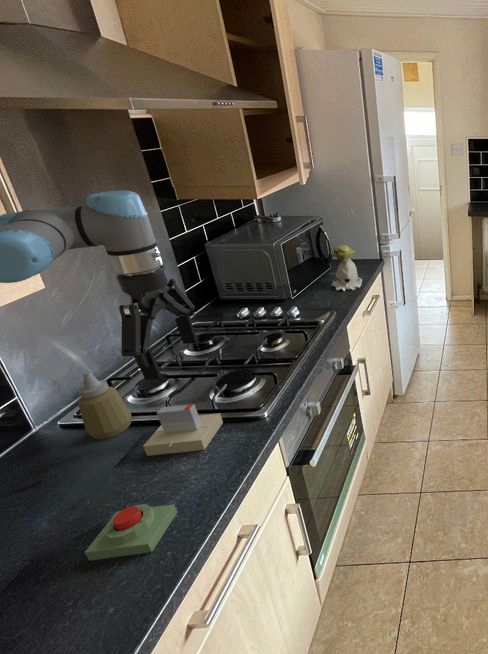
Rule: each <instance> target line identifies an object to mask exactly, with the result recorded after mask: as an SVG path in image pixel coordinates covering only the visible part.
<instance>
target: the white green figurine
mask: <svg viewBox="0 0 488 654" xmlns="http://www.w3.org/2000/svg"><path fill="white" fill-rule="evenodd" d="M330 255H331V256H332V257H333V258H336V259H337V260H338V261H339V262H340V263H339V264H338V268H337V269H336V272H335V278H336V279H337V280H334V281H333V282H332V283H331V286H332V287H335V291H340V290H342V291H343V292H345V291H346V290H348V291H350V290H351V291H354V290H357V288H361V286H362V284H363V279H362V278H361V277H359V275H358V270H357V266H356V264H355V263H354V262H353V261H352V259H351V258H353V257H354V256H355V255H356V251H355V250H354V249H352V248H351V247H349V246H348V245H346V244H341V245H338V246H334V249H333V252H331V253H330ZM347 280H349V281H348V282H347Z"/></svg>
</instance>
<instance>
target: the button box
mask: <svg viewBox="0 0 488 654" xmlns="http://www.w3.org/2000/svg"><path fill="white" fill-rule="evenodd" d="M134 506H136V507H138V508H139V510H140V512H141V514H142V517H141V519H140V521H139V522H138V523H136V524H135V525H134V526H133V527H131V528H128V529H126V530H124V531H118V530H117V529H116V527H115V525H114V523H113V519H114V517H115V516H116V515H117V514H118V513H119V512H120V511H121V510H119V511H116V512H115V513H114V514H113V516H112V517H111V518H110V519H109V520H108V522H107V523H106V525H105V526H104V527H103V528H102V530H101V531H100V532H99V533H98V534H97V536H96V537H95V538H94V540H92V541H91V544H90V545H89V546H88V547H87V548H86V550H85V551H84V555H85V556H86V558H87V560H88V561H90V562H91V561H98V560H104V559H111V558H118V557H125V556H133V555H140V554H141V555H142V554H149V553H152V552H153V551H154V549H155V548H156V546H157V545H158V544H159V541H160V540H161V539H162V537H163V536H164V534H165V532H166V531H167V529H168V528H169V527H170V524H171V523H172V521H173V520H174V518H175V517H176V515H177V514H178V510H177V507H176V505H175V504H174V503H173V504H165V505H158V506H157V505H156V506H151V505H148V504H146V503H141V504H135V505H134Z"/></svg>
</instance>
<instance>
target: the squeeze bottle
mask: <svg viewBox="0 0 488 654" xmlns="http://www.w3.org/2000/svg"><path fill="white" fill-rule="evenodd" d="M82 376H83V377H82V378H83V385H82V386H81V387H80V389H79V390H78V393H79V395H80V398H79V399H78V400H77V405H78V409H79V412H80V416H81V419H82V422H83V426H84V429H85V431H86V434H87V435H89V436H90V437H91V438H92V439H94V440H105V439H110V438H113V437H115V436H117V435H119V434H121V433H123V432H124V431H125V430H127V429H128V428H129V427H130V425H131V423H132V413H131V411H130V409H129V408H128V407H127V405H126V403H125V402H124V400H123V398H122V397H121V395H120V394H119V393H118V391H117V389H116V388H115V387H113V386H109V384H108V383H107V381H106V380H104V379H103V380H101V379H100V380H98V379H97V377H95V375H94V374H93V373H92V372H91V371H85V372H84V373H82Z"/></svg>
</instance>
